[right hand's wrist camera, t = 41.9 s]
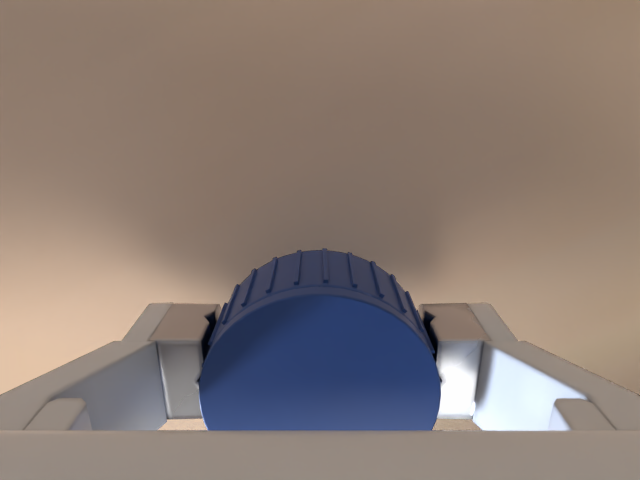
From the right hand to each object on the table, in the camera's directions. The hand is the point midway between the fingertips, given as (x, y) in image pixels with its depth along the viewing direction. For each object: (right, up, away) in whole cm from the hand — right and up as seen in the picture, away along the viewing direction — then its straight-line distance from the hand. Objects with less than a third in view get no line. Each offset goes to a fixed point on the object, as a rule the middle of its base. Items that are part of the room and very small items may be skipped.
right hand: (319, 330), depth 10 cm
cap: (0, -1, -2) cm, 2 cm away
